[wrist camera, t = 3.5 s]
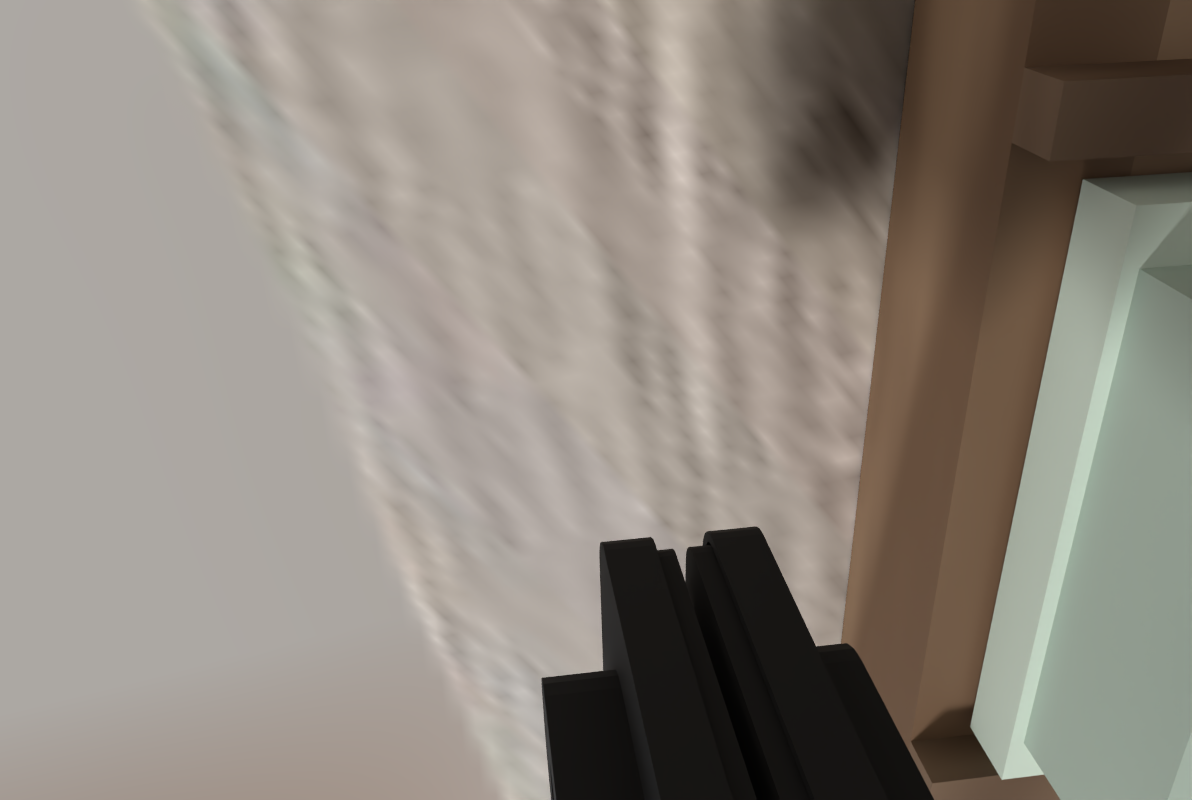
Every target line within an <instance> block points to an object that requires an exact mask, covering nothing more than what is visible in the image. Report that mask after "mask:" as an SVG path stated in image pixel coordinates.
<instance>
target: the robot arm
mask: <svg viewBox="0 0 1192 800" xmlns="http://www.w3.org/2000/svg"><path fill="white" fill-rule="evenodd" d="M600 583H601V614H602V644H603V671H599V672H590V673H581V674H572V675H564V676H555V677H546V678H542V696H543V709H544V723H545V736H546V748H547V760H548V771H549V782H550V792H551V800H934V798H933V796H932V794H931V792H930V790H929V789H928V787H927V785H926V783H925V781H924V779H923V777H922V775H921V773H920V771H919V769H918V767H917V765H916V764H915V762H914V760H913V758H912V756H911V754H910V752H909V750H908V748H907V746H906V744H905V742H904V740H903V739H902V737H901V735H900V733H899V731H898V729H897V727H896V725H895V723H894V721H893V719H892V717H891V716H890V714H889V712H888V710H887V708H886V706H885V704H884V702H883V700H882V698H881V696H880V694H879V692H878V691H877V689H876V687H875V685H874V683H873V681H872V679H871V677H870V675H869V673H868V671H867V669H866V667H865V666H864V664H863V662H862V660H861V658H860V657H859V655H858V654H857V652H856V651H855V649H854V648H853V647H852V646H850V645H849V644H848V643H844V644H835V645H826V646H817V647H816V646H815V644H814V641H813V639H812V637H811V635H810V633H809V631H808V629H807V627H806V624H805V622H804V620H803V618H802V616H801V614H800V612H799V610H798V607H797V605H796V603H795V601H794V599H793V597H792V595H791V593H790V590H789V588H788V586H787V584H786V582H785V580H784V578H783V576H782V573H781V571H780V569H779V567H778V565H777V563H776V561H775V559H774V556H773V554H772V552H771V550H770V548H769V546H768V544H767V542H766V539H765V537H764V535H763V533H762V532H761V530H760V528H758V527H747V528H737V529H727V530H717V531H707V532H706V533H705V535H704V539H703V546H696V547H689V548H688V549H687V552H686V583H685V580H684V577H683V574H682V571H681V568H680V565H679V562H678V559H677V556H676V553H675V551H674V550H673V549H667V550H657V549H656V545H655V543H654V540H653V539H652V538H651V537H648V538H638V539H628V540H618V541H609V542H601V543H600Z"/></svg>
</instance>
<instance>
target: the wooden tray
mask: <svg viewBox="0 0 1192 800" xmlns="http://www.w3.org/2000/svg"><path fill="white" fill-rule="evenodd" d="M1184 172H1192V0H915V6H914V15H913V24H912V32H911V41H910V50H909V58H908V67H907V76H906V84H905V93H904V102H903V110H902V119H901V128H900V137H899V145H898V154H897V163H896V171H895V180H894V189H893V197H892V206H891V215H890V223H889V232H888V241H887V249H886V258H885V267H884V275H883V284H882V293H881V301H880V310H879V319H878V328H877V336H876V345H875V354H874V362H873V371H872V380H871V388H870V397H869V406H868V414H867V423H866V432H865V440H864V449H863V458H862V466H861V475H860V484H859V493H858V501H857V510H856V519H855V527H854V536H853V545H852V553H851V562H850V571H849V579H848V588H847V597H846V605H845V614H844V623H843V631H842V640H841V644H844V643H848V644H849V645H850V646H852V647H853V648H854V649H855V651H856V652H857V654H858V655H859V657H860V658H861V660H862V662H863V664H864V666H865V667H866V669H867V671H868V673H869V675H870V677H871V679H872V681H873V683H874V685H875V687H876V689H877V691H878V692H879V694H880V696H881V698H882V700H883V702H884V704H885V706H886V708H887V710H888V712H889V714H890V716H891V717H892V719H893V721H894V723H895V725H896V727H897V729H898V731H899V733H900V735H901V737H902V739H903V740H904V742H905V744H906V746H907V748H908V750H909V752H910V754H911V756H912V758H913V760H914V762H915V764H916V765H917V767H918V769H919V771H920V773H921V775H922V777H923V779H924V781H925V783H926V785H927V787H928V789H929V790H930V792H931V794H932V796H933V798H934V800H1060V798H1059V797H1058V795H1057V794H1056V792H1055V790H1054V789H1053V787H1052V786H1051V784H1050V783H1049V781H1048V780H1047V778H1046V777H1045V775H1036V776H1028V777H1020V778H1012V779H1004V780H1002V779H1001V778H1000V776H999V774H998V773H997V771H996V769H995V768H994V766H993V764H992V763H991V761H990V759H989V758H988V756H987V754H986V753H985V751H984V749H983V748H982V746H981V744H980V743H979V741H978V739H977V737H976V736H975V734H974V732H973V731H972V729H971V727H970V725H971V720H972V715H973V710H974V705H975V701H976V696H977V691H978V686H979V681H980V676H981V671H982V667H983V662H984V657H985V652H986V647H987V642H988V637H989V633H990V628H991V623H992V618H993V613H994V608H995V604H996V599H997V594H998V589H999V584H1000V579H1001V574H1002V570H1003V565H1004V560H1005V555H1006V550H1007V545H1008V540H1009V536H1010V531H1011V526H1012V521H1013V516H1014V511H1015V506H1016V502H1017V497H1018V492H1019V487H1020V482H1021V477H1022V472H1023V468H1024V463H1025V458H1026V453H1027V448H1028V443H1029V439H1030V434H1031V429H1032V424H1033V419H1034V414H1035V409H1036V405H1037V400H1038V395H1039V390H1040V385H1041V380H1042V375H1043V371H1044V366H1045V361H1046V356H1047V351H1048V346H1049V341H1050V337H1051V332H1052V327H1053V322H1054V317H1055V312H1056V307H1057V303H1058V298H1059V293H1060V288H1061V283H1062V278H1063V274H1064V269H1065V264H1066V259H1067V254H1068V249H1069V244H1070V240H1071V235H1072V230H1073V225H1074V220H1075V215H1076V210H1077V206H1078V201H1079V196H1080V191H1081V186H1082V181H1083V179H1092V178H1107V177H1123V176H1138V175H1154V174H1169V173H1184Z"/></svg>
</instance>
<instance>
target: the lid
mask: <svg viewBox="0 0 1192 800" xmlns="http://www.w3.org/2000/svg"><path fill="white" fill-rule="evenodd" d="M970 727H971V729H972V731H973V732H974V734H975V736H976V737H977V739H978V741H979V743H980V744H981V746H982V748H983V749H984V751H985V753H986V754H987V756H988V758H989V759H990V761H991V763H992V764H993V766H994V768H995V769H996V771H997V773H998V774H999V776H1000V778H1001V779H1002V780H1004V779H1012V778H1020V777H1028V776H1036V775H1045V777H1046V778H1047V780H1048V781H1049V783H1050V784H1051V786H1052V787H1053V789H1054V790H1055V792H1056V794H1057V795H1058V797H1059V798H1060V800H1192V172H1184V173H1169V174H1154V175H1138V176H1123V177H1107V178H1092V179H1083V181H1082V186H1081V191H1080V196H1079V201H1078V206H1077V210H1076V215H1075V220H1074V225H1073V230H1072V235H1071V240H1070V244H1069V249H1068V254H1067V259H1066V264H1065V269H1064V274H1063V278H1062V283H1061V288H1060V293H1059V298H1058V303H1057V307H1056V312H1055V317H1054V322H1053V327H1052V332H1051V337H1050V341H1049V346H1048V351H1047V356H1046V361H1045V366H1044V371H1043V375H1042V380H1041V385H1040V390H1039V395H1038V400H1037V405H1036V409H1035V414H1034V419H1033V424H1032V429H1031V434H1030V439H1029V443H1028V448H1027V453H1026V458H1025V463H1024V468H1023V472H1022V477H1021V482H1020V487H1019V492H1018V497H1017V502H1016V506H1015V511H1014V516H1013V521H1012V526H1011V531H1010V536H1009V540H1008V545H1007V550H1006V555H1005V560H1004V565H1003V570H1002V574H1001V579H1000V584H999V589H998V594H997V599H996V604H995V608H994V613H993V618H992V623H991V628H990V633H989V637H988V642H987V647H986V652H985V657H984V662H983V667H982V671H981V676H980V681H979V686H978V691H977V696H976V701H975V705H974V710H973V715H972V720H971V725H970Z"/></svg>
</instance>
